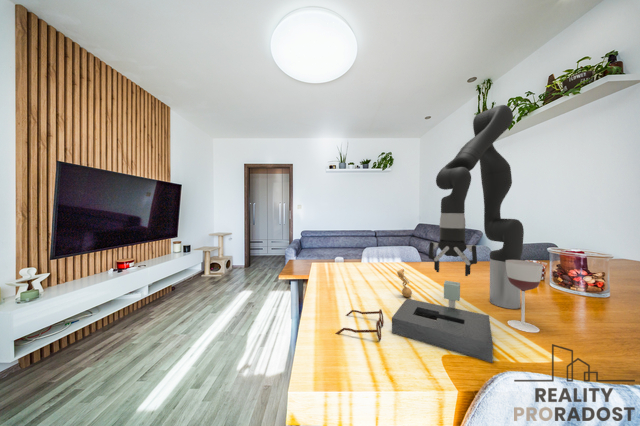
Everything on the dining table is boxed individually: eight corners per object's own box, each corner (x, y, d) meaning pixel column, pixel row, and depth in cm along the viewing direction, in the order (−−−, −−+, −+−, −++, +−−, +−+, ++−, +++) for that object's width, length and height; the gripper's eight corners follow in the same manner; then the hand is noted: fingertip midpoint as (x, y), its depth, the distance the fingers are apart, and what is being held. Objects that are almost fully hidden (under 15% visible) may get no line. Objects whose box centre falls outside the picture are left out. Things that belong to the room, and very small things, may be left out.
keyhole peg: (444, 311, 81) (444, 280, 81) (460, 315, 78) (460, 282, 78) (442, 317, 77) (442, 283, 77) (460, 321, 74) (460, 286, 74)
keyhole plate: (391, 332, 67) (391, 317, 67) (406, 310, 82) (406, 298, 82) (492, 363, 54) (492, 344, 54) (488, 330, 69) (488, 315, 69)
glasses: (380, 344, 62) (380, 326, 62) (335, 335, 67) (335, 318, 67) (384, 322, 75) (384, 307, 75) (345, 316, 79) (345, 301, 79)
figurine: (416, 300, 91) (416, 271, 91) (402, 301, 91) (402, 271, 91) (406, 293, 100) (406, 266, 100) (393, 293, 99) (393, 266, 99)
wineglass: (535, 336, 65) (535, 267, 65) (500, 322, 73) (500, 261, 73) (547, 329, 69) (547, 264, 69) (512, 317, 77) (512, 258, 77)
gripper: (477, 227, 76) (476, 274, 77) (431, 225, 85) (430, 268, 85) (477, 228, 70) (476, 280, 70) (427, 226, 78) (427, 272, 78)
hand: (451, 273), depth 77 cm, fingers open, 8 cm apart
